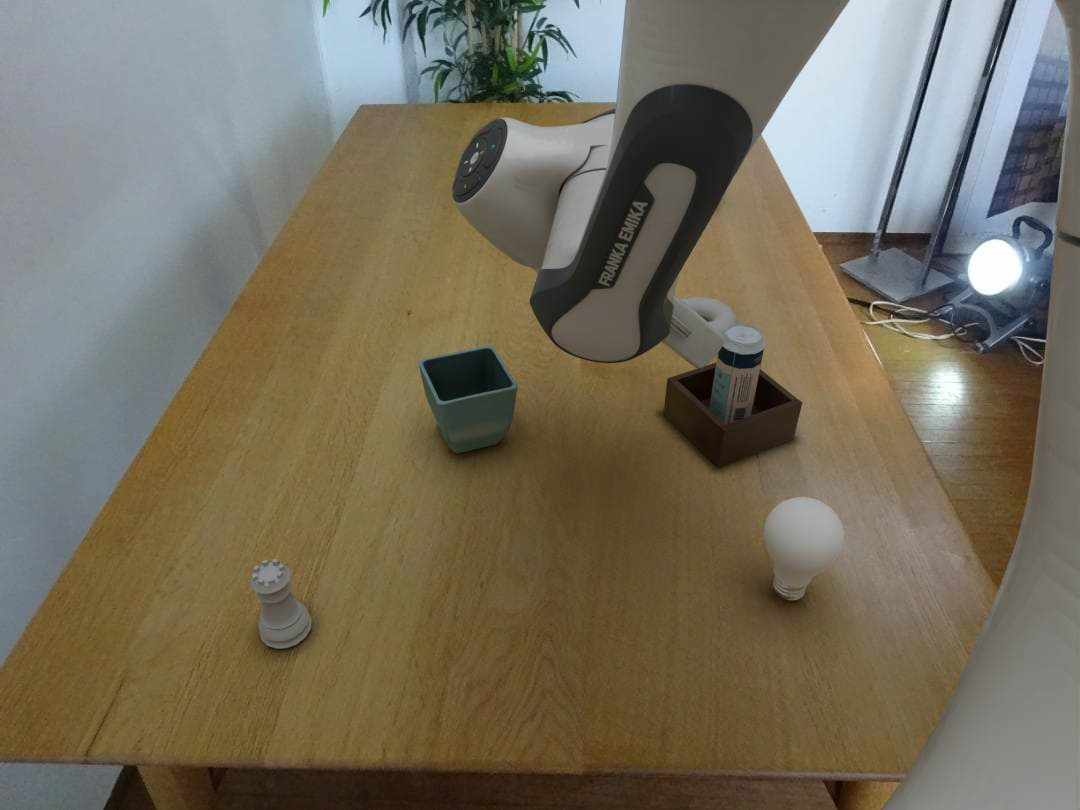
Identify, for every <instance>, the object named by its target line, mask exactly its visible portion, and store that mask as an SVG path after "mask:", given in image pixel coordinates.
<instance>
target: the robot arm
mask: <svg viewBox="0 0 1080 810" xmlns="http://www.w3.org/2000/svg"><path fill="white" fill-rule="evenodd" d="M850 2H851V0H625V4H624V15H623V28H622V38H621V47H620V49H621V50H620V59H619V70H618V80H617V81H618V82H617V91H616V100H615V108H611V109H609V110H606V111H604V112H601V113H598V114H596V115H595V116H591V117H589V118H588V119H586V120H584V121H582V122H580V123H577V124H568V125H558V126H541V125H540V126H539V125H534V124H529V123H527V122H524V121H521V120H518V119H516V118H513V117H503V116H502V117H497V118H495V119H493V120H491V121H490V122H488V123H487V124H484V125H483V126H482V127H481V128H479V130H478V131H477V132H476V133H475V134H474V135H473V137H472V138H471V139H470V141H469V143H468V144H467V146H466V147H465V149H464V150H463V152H462V154H461V156H460V159H459V161H458V165H457V168H456V171H455V174H454V178H453V181H452V187H451V188H452V189H451V190H452V194H451V196H452V200H453V203H454V205H455V207H456V208H457V210H458V211H459V212H460V214H461V216H463V218H464V219H465V220H466V222H468V224H470V225H471V226H472V228H473V229H474V230H475V231H476V232H478V233H479V235H481V236H482V237H484V239H486V241H488V242H489V243H490V244H491V245H493V246H494V247H495V248H496V249H498V250H499V251H500V252H502V253H503V254H504V255H505V256H507V258H510V259H511V260H512V261H513V262H515V263H517V264H518V265H521V266H523V267H528V268H531V269H532V270H534V271H535V273H536V275H537V276H536V278H535V282H534V285H533V288H532V291H531V294H530V297H529V305H530V307H531V310H532V313H533V314H534V316H535V318H536V320H537V322H538V324H539V326H540V327H541V328H542V330H543V332H544V333H545V334H546V336H547V337H548V338H549V340H550V341H551V342H552V343H553V344H554V345H555V346H556V347H557V348H558V349H559V350H561V351H562V352H564V353H566V354H568V355H570V356H572V357H575V358H578V359H581V360H584V361H588V362H592V363H598V364H599V363H601V364H618V363H619V364H620V363H624V362H629V361H632V360H633V359H637V357H640V356H642V355H644V354H645V353H647V352H648V351H650V350H652V349H653V348H655V347H656V346H658V345H659V344H660V343H661V342H662V343H663V344H665V346H667V347H668V348H669V349H671V351H674V353H676V354H677V355H678V356H680V357H681V359H683V360H685V361H686V362H687V363H689V365H691V366H692V367H694V368H695V369H697V368H703V367H705V366H707V365H709V364H710V362H711V361H712V360H713V359H714V358H715V357H716V356H717V355H718V352H719V351H720V349H721V348H722V346H723V345H724V342H725V339H724V337H723V335H722V334H721V333H720V332H719V331H718V330H716V329H715V328H714V327H713V326H712V325H711V324H709V323H708V322H707V321H706V320H705V319H704V318H702V317H701V316H700V315H699V314H698V313H697V312H695V311H694V310H693V309H692V308H691V307H690V306H688V305H687V304H686V303H685V302H683V301H682V300H681V299H682V298H680V297H679V296H678V295H676V294H675V293H676V287H677V283H678V278H679V275H680V272H681V271H682V269H683V268H684V266H685V264H686V262H687V261H688V259H689V257H690V255H691V253H692V252H693V251H694V249H695V247H696V245H697V243H698V242H699V240H700V238H701V236H702V235H703V233H704V231H705V230H706V228H707V226H708V225H709V223H710V221H711V219H712V217H713V216H714V214H715V212H716V211H717V209H718V207H719V204H720V203H721V201H722V198H723V197H724V195H725V193H726V192H727V190H728V188H729V186H730V184H731V183H732V181H733V179H734V177H735V176H736V174H737V173H738V171H739V169H740V167H741V166H742V164H743V162H744V161H745V159H746V158H747V156H748V155H749V153H750V152H751V151H752V149H753V147H754V146H755V145H756V143H757V142H758V139H759V138H760V137H761V135H762V134H763V132H764V131H765V129H766V127H767V126H768V124H769V123H770V121H771V120H772V118H773V116H774V114H775V113H776V111H777V109H778V108H779V107H780V105H781V103H782V101H783V100H784V98H785V97H786V96H787V93H788V92H789V90H790V89H791V88H792V86H793V84H794V83H795V81H796V80H797V78H798V77H799V76H800V74H801V73H802V71H803V70H804V68H805V67H806V65H807V64H808V63H809V61H810V59H811V58H812V57H813V55H814V54H815V52H817V50H818V48H819V47H820V45H821V43H822V42H823V40H824V39H825V37H826V36H827V35H828V33H829V32H830V30H831V29H832V28H833V26H834V24H835V23H836V21H837V20H838V19H839V17H840V15H841V14H842V13H843V11H845V9H846V7H847V6H848V4H849V3H850ZM1054 3H1055V4H1056V7H1057V9H1058V11H1059V13H1060V17H1061V20H1062V23H1063V26H1064V32H1065V37H1066V45H1067V51H1068V53H1067V54H1068V55H1067V57H1068V96H1067V97H1068V99H1067V111H1066V121H1065V128H1064V135H1063V143H1062V153H1061V160H1060V161H1061V162H1060V171H1059V180H1058V181H1059V182H1058V191H1057V200H1056V211H1055V221H1054V222H1055V223H1054V224H1055V227H1056V228H1055V230H1054V241H1053V242H1054V243H1053V253H1052V265H1051V278H1050V290H1049V300H1048V301H1049V302H1048V312H1047V313H1048V314H1047V324H1046V325H1047V326H1046V335H1045V347H1044V357H1043V367H1042V376H1041V378H1042V379H1041V387H1040V399H1039V406H1038V416H1037V425H1036V432H1035V440H1034V449H1033V458H1032V467H1031V475H1030V476H1031V477H1030V482H1029V487H1028V493H1027V497H1026V503H1025V508H1024V512H1023V515H1022V519H1021V523H1020V527H1019V530H1018V534H1017V537H1016V541H1015V543H1014V548H1013V550H1012V553H1011V556H1010V557H1009V561H1008V564H1007V567H1006V569H1005V572H1004V575H1003V577H1002V580H1001V583H1000V586H999V588H998V589H997V592H996V595H995V598H994V600H993V603H992V604H991V607H990V609H989V612H988V615H987V617H986V619H985V621H984V624H983V626H982V628H981V629H980V633H978V634H979V635H978V637H977V639H976V641H975V644H974V645H973V648H972V649H971V652H970V654H969V657H968V659H967V661H966V663H965V665H964V667H963V670H962V672H961V674H960V676H959V679H958V680H957V683H956V685H955V687H954V688H953V690H952V693H951V695H950V697H949V699H948V701H947V702H946V705H945V707H944V709H943V710H942V713H941V714H940V716H939V718H938V720H937V722H936V724H935V725H934V727H933V729H932V731H931V733H930V734H929V737H928V738H927V740H926V742H925V744H924V746H923V747H922V749H921V750H920V752H919V753H918V755H917V757H916V758H915V761H913V763H912V765H911V766H910V768H909V769H908V771H907V772H906V774H905V776H904V777H903V778H902V780H901V781H900V783H899V784H898V786H897V787H896V788H895V789H894V791H893V792H892V794H891V795H890V796H889V798H888V799H887V800H886V802H885V803H884V804H883V806H881V808H880V809H879V810H1080V0H1054Z"/></svg>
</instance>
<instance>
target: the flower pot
mask: <svg viewBox="0 0 1080 810" xmlns="http://www.w3.org/2000/svg"><path fill="white" fill-rule="evenodd" d="M417 364H418V369H419V373H420V377H421V382H422V385H423V391H424V392H425V397H426V400H427V403H428V406H429V409H430V410H431V412H432V415H433V416H434V419H435V421H436V423H437V425H438V428H439V429H440V432H441V435H442V436H443V437H442V438H443V439H444V441H445V443H446V444H447V446H448V448H449V449H450V450H451V451H452V452H453V453H455V454H461V453H466V452H470V451H474V450H477V449H483V448H486V447H491V446H495V445H497V444H499V443H500V442H501V440H503V438H504V437H505V436H506V435H507V433H508V431H509V430H510V428H511V425H512V423H513V419H514V415H515V408H516V402H517V401H516V400H517V394H518V386H519V385H518V384H517V381H516V380H515V379H514V377H513V375H512V374H511V372H510V371H509V370H508V368H507V366H506V365H505V363H504V361H503V360H502V358H501V357H500V355H499V353H498V351H497V349H496V348H495V347H494V346H493V345H484V346H478V347H475V348H470V349H465V350H460V351H454V352H450V353H445V354H444V353H443V354H438V355H435V356H430V357H425V358H423V359H420V360H418V361H417Z"/></svg>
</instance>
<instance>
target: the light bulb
mask: <svg viewBox="0 0 1080 810" xmlns="http://www.w3.org/2000/svg"><path fill="white" fill-rule="evenodd" d="M763 541H764V547H765V548H766V551H767V553H768V555H769V556H770V558H771V560H772V562H773V573H774V574H773V577H772V578H773V579H772V587H773V590H774V592H775V593H776V594H777V595H778V597H780V598H782V599H785V600H788V601H792V602H794V601H799V600H800V599H802V598H803V597H805V594H806V591H807V588H808V586H809V584H810V583H811V582H812V580H813V579H814V578H813V577H814V576H816V575H818V574H819V573H822V572H824V571H826V570H828V569H830V568H831V567H832V566H833V565H834V564H835V563H836V562H837V561H838V560H839V557H840V556H841V554H842V552H843V548H844V544H845V530H844V527H843V524H842V521H841V519H840V518H839V516H838V515H837V513H836V512H835V511H834V510H833V509H832V508H831V507H830V506H829V505H828V504H826V503H824V502H823V501H822V500H818V499H816V498H813V497H807V496H797V497H791V498H788V499H785V500H784V501H781V502H780V503H778V504H777V505H775V506H774V507H773V509H771V512H769V514H768V515H767V517H766V520H765V522H764V526H763Z"/></svg>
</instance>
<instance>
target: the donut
mask: <svg viewBox="0 0 1080 810" xmlns="http://www.w3.org/2000/svg"><path fill="white" fill-rule="evenodd" d="M680 299H681V300H682V301H683V302H685V303H686V304H687V305H688V306H690V307H691V308H692V309H693V310H694V311H695V312H697V313H698V314H699V315H700V316H701V317H702V318H704V319H705V320H706V321H707V322H708V323H709V324H711V325H712V326H713V327H714V328H715V329H716V330H718V331H719V332H720V333H721V334H722V333H723V332H724V331H725V330H726V328H728V327H730V326H731V325H733V324H739V320H738V317H737V314H736V312H735V311H734V310H733V309H732V308H731V307H730V306H729V304H726V303H724V302H723V301H721V300H718V299H716V298H711V297H706V296H688V297H682V298H680Z"/></svg>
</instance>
